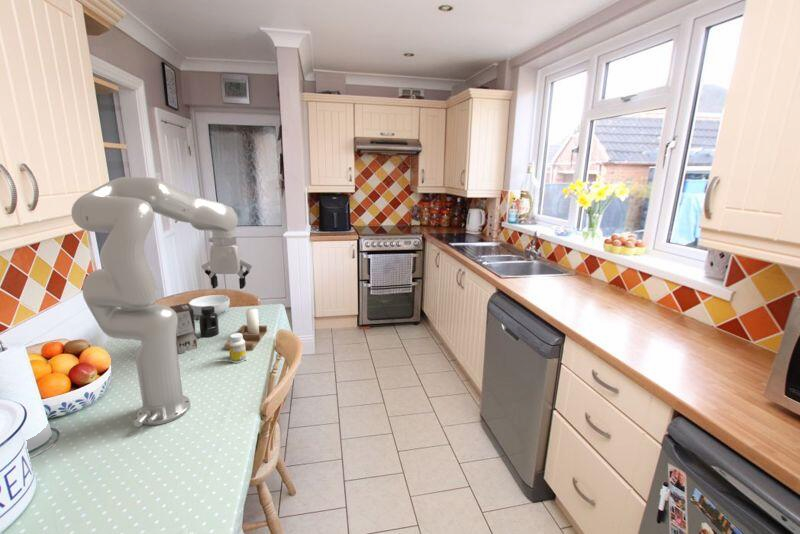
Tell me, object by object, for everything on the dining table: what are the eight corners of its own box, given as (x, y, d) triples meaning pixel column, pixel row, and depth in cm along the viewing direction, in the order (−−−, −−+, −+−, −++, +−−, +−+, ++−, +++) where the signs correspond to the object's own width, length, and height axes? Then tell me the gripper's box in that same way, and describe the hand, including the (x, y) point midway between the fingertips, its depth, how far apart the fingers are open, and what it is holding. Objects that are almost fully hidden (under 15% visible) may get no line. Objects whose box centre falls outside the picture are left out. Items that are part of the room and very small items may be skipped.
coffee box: (198, 349, 141) (193, 309, 137) (178, 354, 137) (173, 313, 133) (193, 341, 148) (188, 302, 144) (174, 345, 144) (169, 305, 140)
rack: (252, 351, 140) (252, 344, 140) (225, 351, 140) (224, 344, 139) (267, 332, 158) (267, 325, 157) (243, 331, 157) (242, 325, 157)
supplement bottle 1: (211, 339, 149) (209, 311, 146) (196, 337, 150) (193, 309, 147) (223, 332, 156) (220, 305, 153) (208, 331, 157) (205, 304, 154)
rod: (257, 337, 151) (255, 312, 148) (246, 337, 151) (244, 312, 148) (260, 333, 155) (259, 308, 152) (250, 333, 155) (248, 308, 152)
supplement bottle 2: (245, 362, 133) (243, 337, 130) (229, 364, 131) (227, 339, 129) (246, 355, 138) (245, 331, 135) (231, 357, 136) (229, 332, 134)
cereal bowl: (236, 308, 184) (234, 294, 182) (222, 321, 168) (221, 306, 166) (200, 307, 182) (198, 294, 181) (183, 321, 166) (181, 306, 165)
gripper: (194, 243, 128) (199, 290, 132) (246, 244, 129) (249, 291, 133) (204, 239, 135) (209, 284, 139) (253, 240, 136) (256, 284, 140)
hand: (228, 287), depth 136 cm, fingers open, 9 cm apart
